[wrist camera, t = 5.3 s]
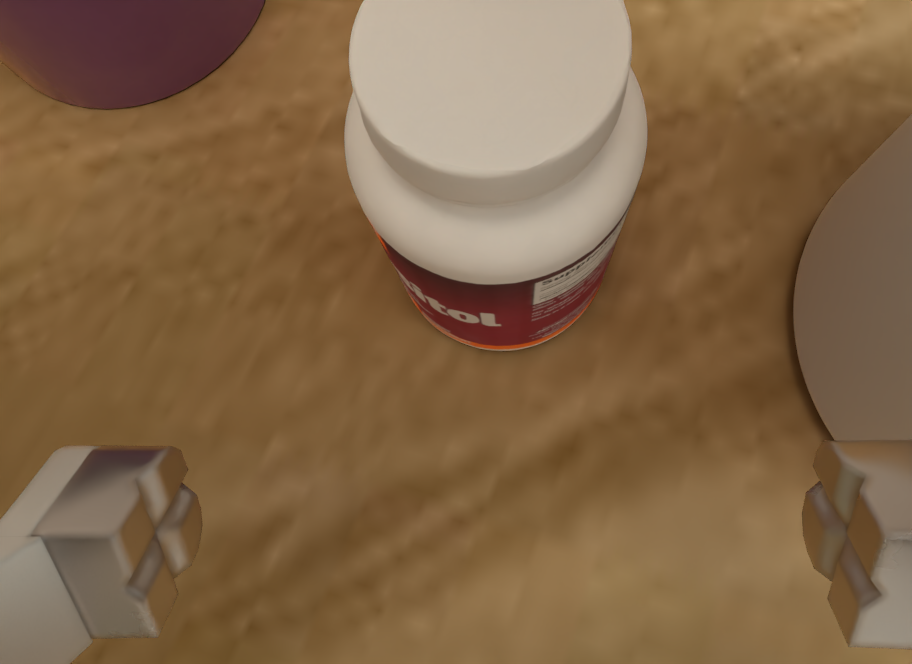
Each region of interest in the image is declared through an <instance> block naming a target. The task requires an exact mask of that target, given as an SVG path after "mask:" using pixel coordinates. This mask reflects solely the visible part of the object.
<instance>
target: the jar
mask: <svg viewBox="0 0 912 664" xmlns="http://www.w3.org/2000/svg"><path fill="white" fill-rule="evenodd" d="M264 2H265V0H0V61H1V62H2V63H4V64H5V65H6V66H7V67H8V68H9V69H11V70H12V71H13V72H14V73H15V74H16V75H18V76H19V77H20V78H21V79H22V80H23V81H25V82H26V83H28V84H29V85H30V86H32V87H33V88H35V89H36V90H37V91H39V92H41V93H43V94H45V95H47V96H49V97H51V98H53V99H56V100H59V101H62V102H65V103H68V104H71V105H77V106H82V107H87V108H102V109H113V108H127V107H132V106H138V105H143V104H147V103H151V102H154V101H157V100H160V99H163V98H166V97H168V96H171V95H173V94H175V93H177V92H180V91H182V90H184V89H186V88H188V87H189V86H191V85H193V84H194V83H196V82H198V81H199V80H201V79H203V78H204V77H205V76H207V75H208V74H209V73H211V72H212V71H213V70H215V69H216V68H217V67H218V66H219V65H221V64H222V63H223V62H224V61H225V60H226V59H227V58H228V57H229V56H230V55H231V54H232V53H233V52H234V51H235V50H236V48H237V47H238V46H239V45H240V44H241V42H242V41H243V40H244V39H245V37H246V36H247V34H248V33H249V31H250V30H251V28H252V26H253V25H254V23H255V22H256V20H257V17H258V15H259V13H260V11H261V9H262V7H263V5H264Z"/></svg>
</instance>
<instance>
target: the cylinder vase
mask: <svg viewBox="0 0 912 664" xmlns="http://www.w3.org/2000/svg"><path fill="white" fill-rule="evenodd" d="M793 321H794V334H795V342H796V348H797V353H798V358H799V362H800V366H801V370H802V373H803V376H804V379H805V382H806V385H807V388H808V390H809V393H810V395H811V398H812V400H813V402H814V405H815V407H816V409H817V411H818V413H819V415H820V417H821V418H822V420H823V422H824V424H825V426H826V427H827V429H828V430H829V432H830V434H831V435H832V437H833V438H834V440H835V441H836V440H902V439H904V440H909V439H911V438H912V114H911V115H910V116H909V117H908V118H907V119H906V120H905V121H904V122H903V123H902V124H901V125H900V126H899V127H898V128H897V129H896V130H895V131H894V132H893V133H892V134H891V135H890V136H889V137H888V138H887V139H886V140H885V142H884V143H883V144H882V145H881V146H880V147H879V148H878V149H877V150H876V151H875V152H874V153H873V154H872V155H871V156H870V157H869V158H868V159H867V160H866V161H865V162H864V163H863V164H862V165H861V166H860V167H859V168H858V169H857V170H856V171H855V172H854V173H853V174H852V175H851V176H850V177H849V178H848V179H847V180H846V181H845V182H844V183H843V184H842V186H841V187H840V188H839V189H838V190H837V191H836V193H835V194H834V195H833V196H832V198H831V199H830V200H829V202H828V203H827V205H826V206H825V208H824V209H823V211H822V212H821V214H820V216H819V217H818V219H817V221H816V223H815V225H814V227H813V229H812V231H811V233H810V235H809V237H808V240H807V242H806V245H805V248H804V251H803V253H802V257H801V260H800V264H799V268H798V272H797V278H796V284H795V291H794V306H793Z"/></svg>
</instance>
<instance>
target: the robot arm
mask: <svg viewBox="0 0 912 664" xmlns="http://www.w3.org/2000/svg"><path fill="white" fill-rule="evenodd" d="M813 467H814V469H815V471H816V473H817V475H818V477H819V479H820V481H819V482H818V483H817V484H816V485H815V486H813V487H812V488H811V489H810V490H809V491H807V492H806V496H805V501H804V505H803V510H802V524H803V537H804V541H805V545H806V549H807V552H808V555H809V557H810V559H811V562H812V564H813V567H814V569H816V570H817V571H818V572H820V573H821V574H822V575H824V576H825V577H826V578H828V579H829V580H830V581H832V584H831V588H830V591H829V595H828V598H827V599H828V601H829V603H830V606H831V608H832V610H833V612H834V615H835V617H836V619H837V621H838V624H839V626H840V628H841V630H842V633H843V635H844V637H845V639H846V642H847V644H848V646H849V647H865V648H890V649H912V438H911V439H909V440H904V439H902V440H836V441H823V442H822V443H821V445H820V446H819V448H818V449H817V452H816V455H815V459H814V463H813ZM187 471H188V467H187V465H186V462H185V460H184V457H183V454H182V452H181V450H179V449H177V448H174V447H172V446H106V445H102V446H64V447H62V448H60V449H58V450H56V451H54V453H53V454H52V455H51V456H50V458H49V459H48V460H47V461H46V463H45V464H44V465H43V466H42V468H41V469H40V470H39V471H38V473H37V474H36V475H35V477H34V478H33V479H32V480H31V482H30V483H29V484H28V485H27V487H26V488H25V489H24V490H23V492H22V493H21V494H20V496H19V497H18V498H17V499H16V501H15V502H14V503H13V504H12V506H11V507H10V508H9V509H8V511H7V512H6V513H5V515H4V516H3V517H2V518H1V520H0V664H70V663H71V662H72V661H73V660H74V659H75V658H76V657H77V656H79V655H80V654H81V653H82V652H83V651H84V650H85V649H86V648H87V647H88V646H89V645H90V644H92V642H93V640H92V639H97V638H158V637H159V634H160V632H161V630H162V628H163V626H164V624H165V621H166V619H167V617H168V615H169V613H170V611H171V608H172V606H173V604H174V602H175V600H176V598H177V595H178V591H177V588H176V585H175V582H174V580H173V579H174V578H176V577H177V576H178V575H179V574H181V573H182V572H183V571H185V570H186V569H187V568H188V567H190V566H191V565H192V562H193V560H194V558H195V555H196V553H197V551H198V548H199V544H200V538H201V532H202V526H203V525H202V514H201V507H200V504H199V501H198V497H197V495H196V494H195V493H194V492H193V491H191V490H190V489H189V488H188V487H187V486H185V485H184V484H183V483H182V481H183V479H184V477H185V475H186V473H187Z"/></svg>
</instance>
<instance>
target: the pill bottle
mask: <svg viewBox="0 0 912 664" xmlns="http://www.w3.org/2000/svg"><path fill="white" fill-rule="evenodd" d="M631 57H632V32H631V27H630V21H629V17H628V14H627V11H626V8H625V4H624V1H623V0H364V1H363V3H362V4H361V6H360V8H359V11H358V13H357V16H356V19H355V21H354V25H353V28H352V32H351V38H350V44H349V69H350V78H351V82H352V87H353V93H352V96H351V99H350V102H349V106H348V110H347V115H346V120H345V130H344V145H345V158H346V164H347V170H348V174H349V177H350V181H351V184H352V187H353V190H354V192H355V194H356V197H357V199H358V201H359V203H360V205H361V208H362V209H363V211H364V213H365V215H366V217H367V219H368V220H369V222H370V224H371V226H372V227H373V229H374V231H375V233H376V235H377V236H378V238H379V240H380V242H381V244H382V246H383V248H384V249H385V251H386V253H387V255H388V257H389V259H390V260H391V262H392V264H393V266H394V267H395V269H396V271H397V273H398V275H399V277H400V279H401V281H402V283H403V285H404V286H405V289H406V290H407V292H408V294H409V296H410V298H411V299H412V301H413V303H414V304H415V305H416V307H417V308H418V309H419V311H420V312H421V313H422V315H423V316H424V317H425V318H426V319H427V320H428V321H429V322H430V323H431V324H432V325H433V326H434V327H435V328H437V329H438V330H439V331H441V332H442V333H444V334H445V335H447V336H449V337H451V338H453V339H455V340H457V341H459V342H461V343H463V344H466V345H469V346H472V347H475V348H479V349H485V350H494V351H511V350H519V349H524V348H528V347H532V346H535V345H538V344H541V343H543V342H545V341H547V340H549V339H551V338H553V337H555V336H557V335H558V334H560V333H561V332H563V331H564V330H566V329H567V328H568V327H569V326H571V325H572V324H573V323H574V322H575V321H576V320H577V319H578V318H579V317H580V316H581V315H582V314H583V312H584V311H585V310H586V308H587V307H588V306H589V304H590V303H591V301H592V300H593V298H594V297H595V295H596V293H597V291H598V289H599V287H600V285H601V282H602V279H603V277H604V274H605V271H606V269H607V266H608V264H609V261H610V258H611V256H612V253H613V250H614V247H615V244H616V242H617V239H618V237H619V234H620V231H621V228H622V226H623V223H624V221H625V218H626V215H627V212H628V210H629V207H630V204H631V202H632V200H633V197H634V194H635V191H636V188H637V185H638V182H639V179H640V176H641V174H642V169H643V165H644V161H645V155H646V149H647V134H648V127H647V116H646V110H645V104H644V99H643V95H642V92H641V89H640V86H639V84H638V81H637V79H636V76H635V74H634V72H633V70H632V68H631V66H630V65H631Z"/></svg>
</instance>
